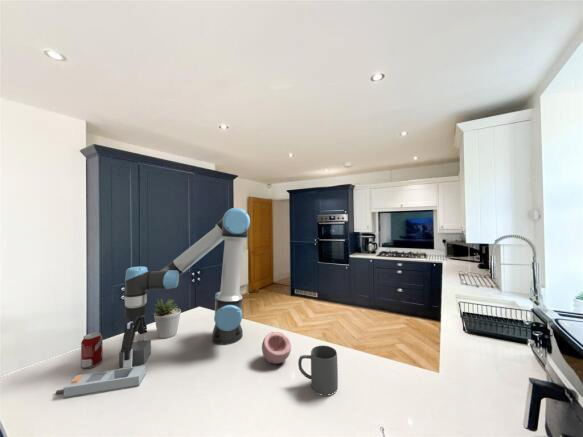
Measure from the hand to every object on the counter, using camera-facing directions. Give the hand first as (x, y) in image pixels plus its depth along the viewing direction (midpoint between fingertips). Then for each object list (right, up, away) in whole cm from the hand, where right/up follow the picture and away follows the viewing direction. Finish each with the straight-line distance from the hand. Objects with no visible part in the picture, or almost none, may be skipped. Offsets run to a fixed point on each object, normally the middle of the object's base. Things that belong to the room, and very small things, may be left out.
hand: (134, 357), depth 96 cm
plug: (0, -3, 0) cm, 3 cm away
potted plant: (-2, -4, +27) cm, 28 cm away
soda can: (-19, -4, +1) cm, 19 cm away
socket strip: (-4, -3, -12) cm, 13 cm away
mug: (+73, -2, -14) cm, 75 cm away
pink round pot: (+58, -3, +1) cm, 58 cm away
